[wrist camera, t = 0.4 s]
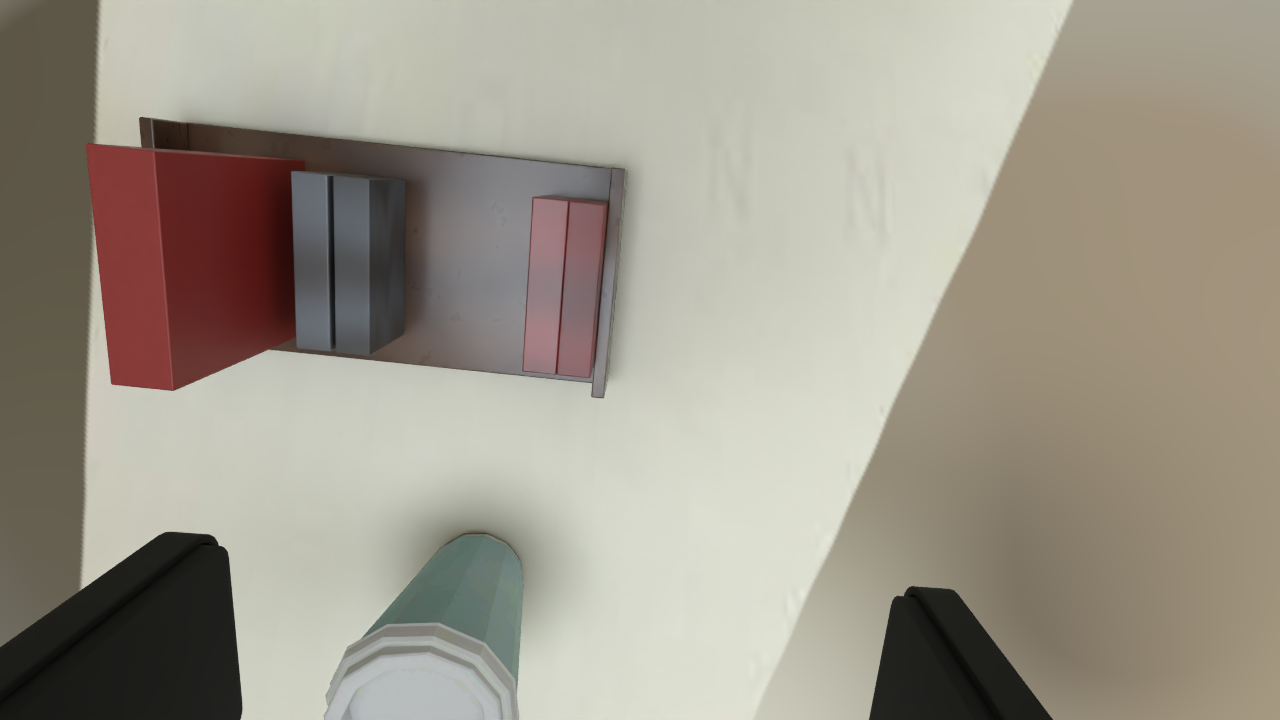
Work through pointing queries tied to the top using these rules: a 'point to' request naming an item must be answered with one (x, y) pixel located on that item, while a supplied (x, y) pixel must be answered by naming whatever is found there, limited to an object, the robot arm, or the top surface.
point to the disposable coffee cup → (441, 643)
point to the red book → (191, 260)
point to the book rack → (442, 252)
